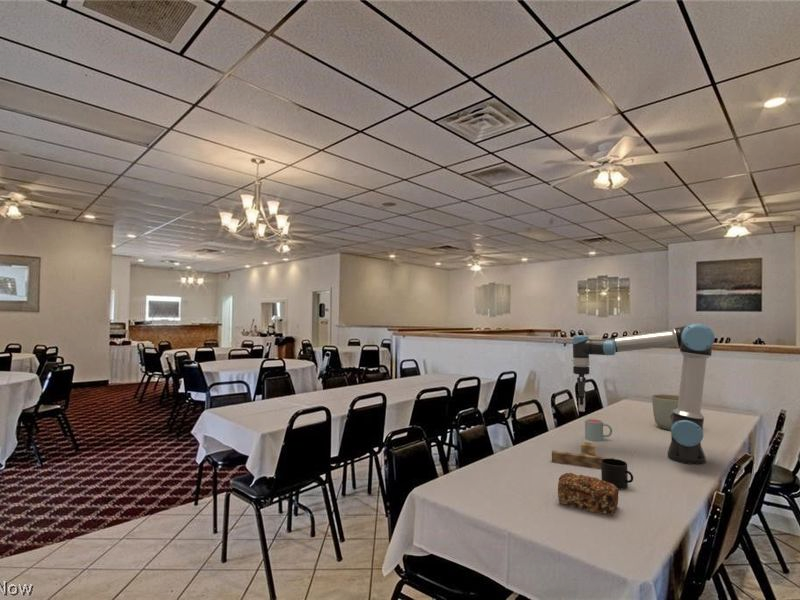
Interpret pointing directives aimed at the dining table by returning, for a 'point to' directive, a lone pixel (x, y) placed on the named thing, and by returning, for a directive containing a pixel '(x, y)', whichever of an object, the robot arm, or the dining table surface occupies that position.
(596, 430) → the mug
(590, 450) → the block
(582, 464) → the board
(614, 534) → the dining table surface
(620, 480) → the mug
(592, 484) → the bread
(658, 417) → the planter
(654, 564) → the dining table surface
